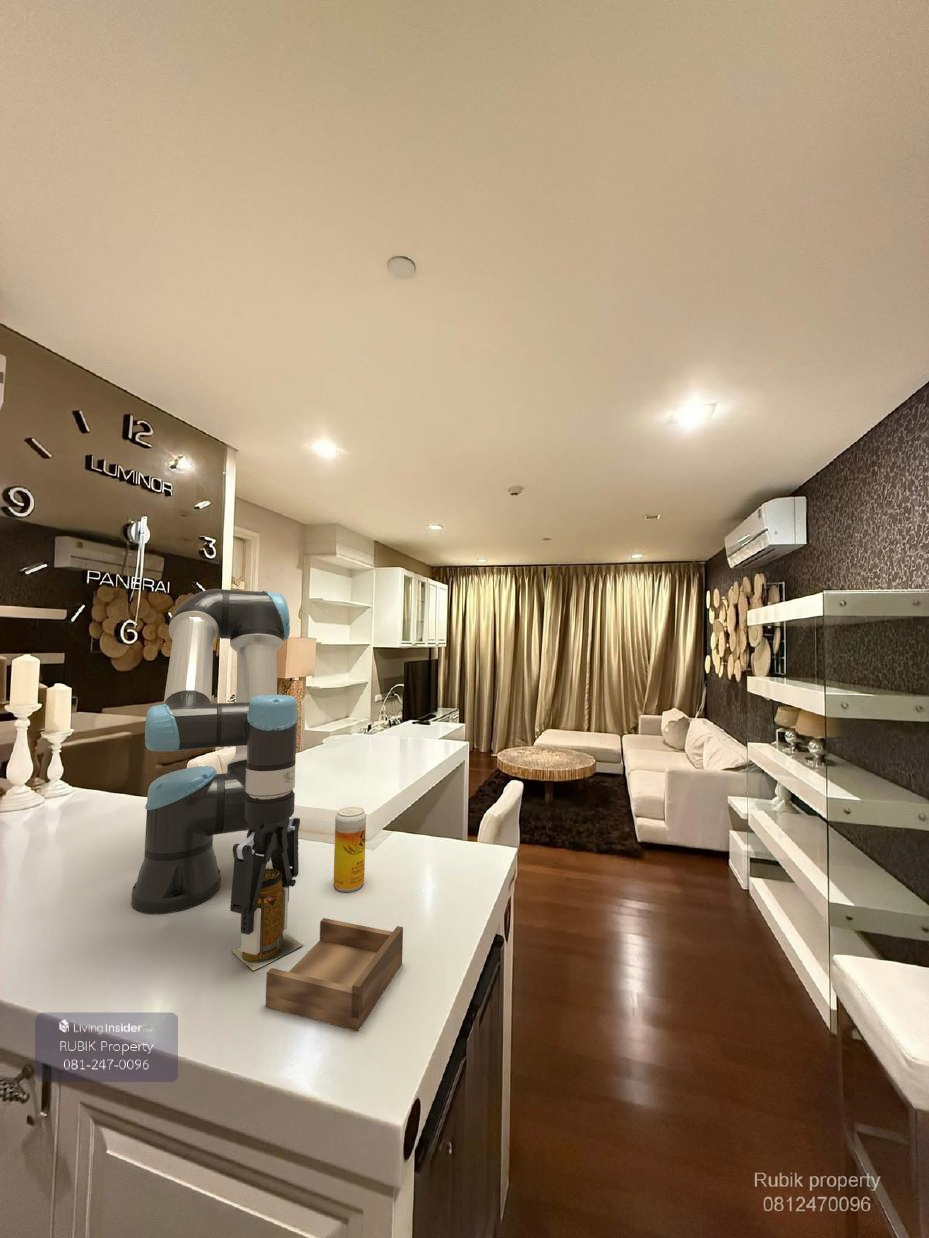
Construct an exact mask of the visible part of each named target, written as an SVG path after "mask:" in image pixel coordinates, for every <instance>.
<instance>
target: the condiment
mask: <svg viewBox="0 0 929 1238" xmlns="http://www.w3.org/2000/svg"><path fill="white" fill-rule="evenodd" d="M250 903H251V902H250ZM257 908H261V923H260V950H259V953H258V954H257V955H254V954H249V953H245V952H241V946H239V947H238V948H235V949H232V950H231V952H232V953H234V955H235V956H236V957H237V958H238V959H239V960H241V962H243V964H245V965H246V966H247V967H249V968H250V969H251V970H252V971H253V972H254V971H256V970H258V969H261V968H262V967H265V966H267V965H268V964H270V963H273V962H274V961H276V960H278V959H280V958H283V956H284V955H287V954H289V953H291V952H294V951H295V950H297V949H298V948H300V947H302V946H304V945H305V944H304V943H302V942H300V941H299V940H298V939H295V938H294V937H292V935H290V933H288V932H286V931H285V930H283V912H284V890H283V888H282V873H281V872H280V871H279V870H276V869H273V868H265V873H264V878H263V882H262V887H261V892H260V896H259V901H258V906H257Z"/></svg>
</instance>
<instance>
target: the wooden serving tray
mask: <svg viewBox="0 0 929 1238" xmlns="http://www.w3.org/2000/svg"><path fill="white" fill-rule="evenodd" d="M403 938H404V926H398V925H397V926H396V927H395V928H394V929H393V931H391V930H386V929H381V928H376V927H371V926H365V925H361V924H356V923H355V924H354V923H351V922H350V923H349V922H346V921H341V920H336V919H331V918H325V917H323V918H322V919H321V920H320V921H319V941H318V942H316V944H314V945H313V946H312V948H310V950H308V952H306V954H304V955H303V956H302V958H301V959H300V960H299V961H298V962H297V963H296V964H295V965H294V966H293V967H291V969H289V971H286V970H282V969H279V968H274V967H271V968H269V969H268V970H267V971H266V976H265V977H266V979H265V980H266V984H265V985H266V986H265V1005H264V1006H265V1008H270V1009H273V1010H277V1011H281V1012H284V1013H288V1014H292V1015H295V1016H296V1015H297V1016H299V1017H303V1018H306V1019H307V1018H308V1019H311V1020H314V1021H317V1022H322V1023H325V1024H329V1025H330V1024H331V1025H334V1026H338V1027H341V1028H345V1029H348V1030H352V1031H356V1032H359V1031H360V1029H361V1027H362V1026H363V1025H364V1024H365V1021H366V1020H367V1018H368V1017H369V1015H370V1014H371V1012H372V1010H373V1009H374V1007H376V1004H377V1003H378V1002H379V1000H380V998H381V997H382V995H383V993H384V992H385V990H386V989H387V987H388V986H389V985H390V983H391V982H392V980H393V979H394V976H395V975H396V974H397V973H398V971H399V969H400V967H401V966H402V964H403V951H404V950H403V947H404V946H403V945H404V943H403V942H404V939H403Z"/></svg>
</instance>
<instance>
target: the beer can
mask: <svg viewBox="0 0 929 1238" xmlns="http://www.w3.org/2000/svg"><path fill="white" fill-rule="evenodd" d="M334 823H335V825H334V849H333V850H334V851H333V852H334V853H333V855H334V857H333V859H334V860H333V886H334V887H335V888H336V890H337V891H339V892H341V893H350V892H355V891H357V890H358V889H361V887H362V885H363V884H364V883H365V869H366V868H365V867H366V866H365V864H366V863H365V862H366V861H365V860H366V832H367V831H366V826H367V814H366V812H365V809H364V808H363V807H360V806H347V807H346V806H345V807H342V808H340V809H338V810H337V813H336V816H335V820H334Z"/></svg>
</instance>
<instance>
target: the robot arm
mask: <svg viewBox="0 0 929 1238" xmlns="http://www.w3.org/2000/svg"><path fill="white" fill-rule="evenodd" d="M290 630H291V625H290V611H289V607H288V603H287V600H286V598H285V597H284V596H283V594H282V593H280V592H272V591H271V592H270V591H267V590H263V591H255V590H253V591H252V590H240V589H239V590H235V589H222V588H213V589H206V590H203V591H200V592H198V593H195V594H193V595H191V596H190V597H188V598H187V599H185V600H184V601H183V602H182V603H180V605H178V607H177V608H176V609H175V610H174V612H173V613H172V615H171V617H170V619H169V625H168V636H169V637H170V638H171V640H172V643H171V649H170V657H169V662H168V663H169V664H168V670H167V671H168V672H167V677H166V685H165V690H164V698H163V703H161V704H160V705H153V706H150V707H149V708H148V710H147V711H146V717H145V725H144V727H145V729H144V731H145V732H144V743H145V747H146V748H147V750H149V751H151V752H177V751H179V752H180V751H188V750H189V751H190V750H200V749H211V748H226V747H229V748H230V747H235V751H234V752H235V755H234V756H233V758H232V759H230V761H229V762H227V764H226V765H227V766H226V768H227V770H226V772H225V773H224V772H223V773H217V772H218V771H217V770H216V768H215V767H214V766H211V765H206V766H205V765H204V766H202V765H200V766H191V767H187V768H182V769H178V770H175V771H171V772H169V773H166V774H163V775H161V776H159V777H157V778H156V779H154V780H153V781H152V782H151V783H150V785H149V787H148V789H147V797H146V804H145V806H144V807H145V810H146V819H145V820H146V821H145V823H146V824H145V835H144V836H145V837H144V854H143V856H144V858H143V861H142V864H141V866H140V868H139V873H138V874H137V879H136V882H135V883H134V884H133V887H132V889H131V897H130V898H131V899H130V906H131V908H132V909H134V910H135V911H137V912H138V913H143V914H150V915H151V914H153V915H155V914H159V915H160V914H168V913H173V912H180V911H183V910H187V909H190V908H193V907H195V906H197V905H201V904H203V903H205V902H206V901H208V900H210V899H211V898H213V897H214V896H215V895H216V894H217V893H218V892H219V890H220V889H221V886H222V885H221V884H222V872H221V870H220V868H219V866H218V861H217V858H216V857H217V856H216V854H215V851H214V836H217V835H223V834H231V833H237V832H243V831H244V832H245V831H247V834H246V839H245V840H243V841H242V843H235V844H234V845H233V846H232V855H233V871H232V873H233V874H232V883H231V884H232V885H231V895H230V907H229V911H230V912H231V913H235V914H236V913H237V914H240V933H241V945H240V947H241V952H245V953H249V954H254V955H257V954H258V953H259V950H260V923H261V908H257V906H258V901H259V896H260V892H261V887H262V882H263V878H264V873H265V869H267V868H266V867H267V864H268V863H269V862H270V861H271V867H272V869H276V870H279V871H280V872H281V873H282V888H283V890H284V912H283V930H284V931H285V930H286V929H288V916H289V912H288V911H289V900H290V887H295V885H296V883H297V880H296V879H294V878H297V877H298V875H299V871H300V870H299V831H300V830H299V829H300V825H301V819H300V818H299V817H293V815H294V812H295V801H296V800H295V798H296V797H295V796H296V793H295V792H294V789H295V786H296V761H297V760H296V757H297V756H296V755H297V735H298V734H297V732H298V730H297V729H298V721H299V714H298V700H297V698H296V697H295V696H293V695H286V694H278V671H277V669H278V665H277V663H278V662H277V661H278V660H277V659H278V656H277V652H278V651H279V650H280V649H281V648H282V647H283V645H284V641H285V640H287V639H289V637H290ZM217 639H225V640H227V639H228V640H229V646H230V648H231V649H232V650H233V651H235V652H236V691H235V693H236V695H235V696H236V697H235V698H236V700H235V701H236V702H225V703H224V702H223V703H222V702H215V703H212V693H213V692H212V691H213V690H212V689H213V687H212V686H213V660H214V659H213V658H214V654H213V653H214V642H215V641H216V640H217ZM250 902H251V903H250Z"/></svg>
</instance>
